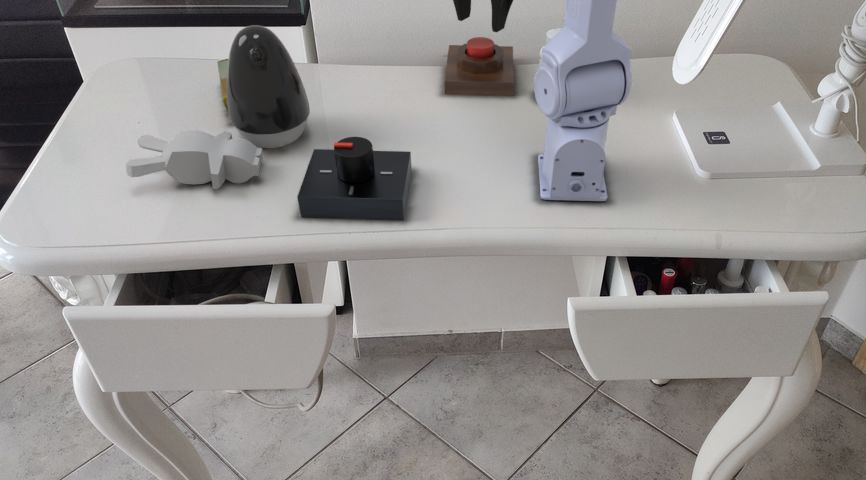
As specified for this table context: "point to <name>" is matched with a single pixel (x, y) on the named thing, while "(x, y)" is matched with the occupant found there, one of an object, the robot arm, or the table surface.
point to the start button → (480, 48)
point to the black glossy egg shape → (265, 90)
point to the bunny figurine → (199, 158)
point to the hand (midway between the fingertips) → (480, 24)
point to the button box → (479, 72)
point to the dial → (354, 159)
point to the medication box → (223, 79)
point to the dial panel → (356, 188)
